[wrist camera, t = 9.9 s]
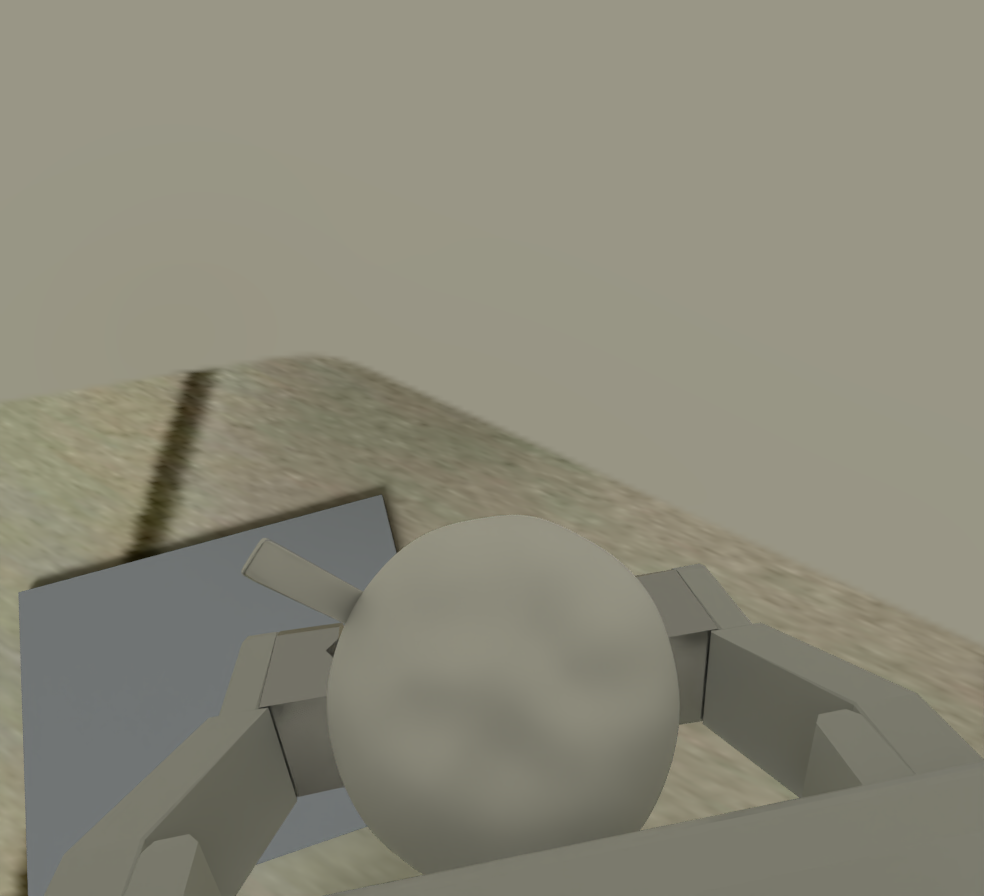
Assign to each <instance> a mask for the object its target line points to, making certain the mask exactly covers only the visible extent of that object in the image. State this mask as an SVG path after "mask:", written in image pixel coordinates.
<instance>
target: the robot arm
mask: <svg viewBox="0 0 984 896" xmlns="http://www.w3.org/2000/svg"><path fill="white" fill-rule="evenodd" d="M636 578H637V579H638V580H639V581H640V583H641V584H642V585H643V586H644V588H645V589H646V591H647V592H648V594H649V595H650V597H651V598H652V600H653V602H654V604H655V605H656V607H657V609H658V611H659V614H660V616H661V618H662V621H663V623H664V626H665V629H666V632H667V635H668V638H669V642H670V645H671V649H672V653H673V657H674V662H675V666H676V672H677V678H678V686H679V699H680V714H679V725H681V724H687V723H693V722H700V721H703V724H704V725H705V726H706V727H708V728H709V729H710V730H712V731H713V732H714V733H716V734H717V735H718V736H720V737H721V738H722V739H723V740H725V741H726V742H727V743H729V744H730V745H731V746H733V747H734V748H735V749H737V750H738V751H739V752H740V753H742V754H743V755H744V756H746V757H747V758H748V759H750V760H751V761H752V762H754V763H755V764H756V765H757V766H759V767H760V768H761V769H763V770H764V771H765V772H767V773H768V774H769V775H771V776H772V777H773V778H775V779H776V780H777V781H778V782H780V783H781V784H782V785H784V786H785V787H786V788H788V789H789V790H790V791H792V792H793V793H794V794H795V795H797V796H798V797H799V798H798V799H793V800H788V801H783V802H778V803H773V804H768V805H763V806H759V807H754V808H749V809H744V810H739V811H734V812H729V813H724V814H720V815H715V816H710V817H705V818H700V819H695V820H690V821H685V822H680V823H676V824H671V825H666V826H661V827H656V828H651V829H646V830H641V831H637V832H632V833H627V834H622V835H617V836H612V837H607V838H602V839H597V840H593V841H588V842H583V843H578V844H573V845H568V846H563V847H558V848H554V849H549V850H544V851H539V852H534V853H529V854H524V855H519V856H514V857H510V858H505V859H500V860H495V861H490V862H485V863H480V864H475V865H470V866H466V867H461V868H456V869H451V870H446V871H441V872H436V873H431V874H427V875H422V876H417V877H412V878H407V879H402V880H397V881H392V882H387V883H383V884H378V885H373V886H368V887H363V888H358V889H353V890H348V891H344V892H339V893H334V894H329V895H324V896H984V759H983V758H982V757H981V756H980V755H979V754H978V753H977V752H976V751H975V750H974V749H973V748H972V747H971V746H970V745H969V744H968V743H967V742H966V741H965V740H964V739H963V738H962V737H961V736H960V735H959V734H958V733H957V732H956V731H955V730H954V729H953V728H952V727H951V726H950V725H949V724H948V723H947V722H946V721H945V720H944V719H943V718H942V717H941V716H940V715H939V714H938V713H937V712H936V711H935V710H934V709H932V708H931V707H930V706H929V705H928V704H927V703H926V702H925V701H924V700H923V699H922V698H921V697H920V696H919V695H918V694H917V693H915V692H913V691H911V690H908V689H906V688H904V687H902V686H900V685H897V684H895V683H893V682H891V681H889V680H886V679H884V678H882V677H880V676H878V675H875V674H873V673H871V672H869V671H866V670H864V669H862V668H860V667H858V666H855V665H853V664H851V663H849V662H847V661H844V660H842V659H840V658H838V657H836V656H833V655H831V654H829V653H827V652H825V651H822V650H820V649H818V648H816V647H814V646H811V645H809V644H807V643H805V642H803V641H800V640H798V639H796V638H794V637H792V636H789V635H787V634H785V633H783V632H781V631H778V630H776V629H774V628H772V627H770V626H767V625H765V624H763V623H755V624H752V623H751V622H750V620H749V619H748V618H747V617H746V615H745V614H744V613H743V612H742V611H741V609H740V608H739V607H738V606H737V604H736V603H735V602H734V601H733V600H732V598H731V597H730V596H729V595H728V593H727V592H726V591H725V590H724V589H723V587H722V586H721V585H720V584H719V582H718V581H717V580H716V579H715V578H714V576H713V575H712V574H711V573H710V571H709V570H708V569H707V568H706V567H705V566H704V565H702V564H695V565H689V566H684V567H679V568H673V569H672V570H667V571H661V572H655V573H649V574H643V575H637V576H636ZM343 628H344V625H343V624H342V623H335V624H328V625H321V626H314V627H306V628H299V629H292V630H285V631H280V632H273V633H266V634H259V635H253V636H248V637H247V638H246V639H245V640H244V641H243V643H242V645H241V648H240V652H239V655H238V658H237V661H236V664H235V667H234V670H233V673H232V676H231V680H230V683H229V686H228V689H227V692H226V695H225V698H224V701H223V705H222V708H221V711H220V714H219V716H216V717H210V718H208V719H207V720H206V721H205V722H204V723H203V724H202V725H201V726H200V727H199V728H198V729H196V730H195V731H194V732H193V733H192V734H191V735H190V736H189V737H188V738H187V739H186V740H185V741H184V742H183V743H182V744H181V745H180V746H178V747H177V748H176V749H175V750H174V751H173V752H172V753H171V754H170V755H169V756H168V757H167V758H166V759H165V760H164V761H163V762H161V763H160V764H159V765H158V766H157V767H156V768H155V769H154V770H153V771H152V772H151V773H150V774H149V775H148V776H147V777H146V778H145V779H143V780H142V781H141V782H140V783H139V784H138V785H137V786H136V787H135V788H134V789H133V790H132V791H131V792H130V793H129V794H128V795H127V796H125V797H124V798H123V799H122V800H121V801H120V802H119V803H118V804H117V805H116V806H115V807H114V808H113V809H112V810H111V811H110V812H108V813H107V814H106V815H105V816H104V817H103V818H102V819H101V820H100V821H99V822H98V823H97V824H96V825H95V826H94V827H93V828H92V829H90V830H89V831H88V832H87V833H86V834H85V835H84V836H83V837H82V838H81V839H80V840H79V841H78V842H77V843H76V844H75V845H73V846H72V847H71V848H70V849H69V850H68V851H67V852H66V853H65V854H64V855H63V857H62V859H61V861H60V863H59V865H58V867H57V869H56V872H55V874H54V876H53V878H52V880H51V882H50V884H49V886H48V888H47V890H46V892H45V894H44V896H236V894H237V893H238V891H239V889H240V888H241V886H242V885H243V883H244V882H245V880H246V879H247V877H248V876H249V874H250V873H251V871H252V870H253V868H254V866H255V865H256V863H257V862H258V860H259V859H260V857H261V856H262V854H263V853H264V851H265V850H266V848H267V847H268V845H269V844H270V842H271V840H272V839H273V837H274V836H275V834H276V833H277V831H278V830H279V828H280V827H281V825H282V824H283V822H284V821H285V819H286V817H287V816H288V814H289V813H290V811H291V810H292V808H293V807H294V805H295V804H296V802H297V798H296V797H300V796H305V795H310V794H314V793H319V792H323V791H328V790H333V789H337V788H342V787H345V786H344V784H343V781H342V778H341V776H340V773H339V770H338V767H337V764H336V760H335V757H334V753H333V749H332V745H331V740H330V734H329V728H328V719H327V688H328V680H329V674H330V669H331V665H332V660H333V657H334V653H335V650H336V647H337V644H338V641H339V638H340V635H341V633H342V630H343Z"/></svg>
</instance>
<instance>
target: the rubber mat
mask: <svg viewBox="0 0 984 896" xmlns="http://www.w3.org/2000/svg"><path fill="white" fill-rule="evenodd" d="M262 538H268V539H270V540H272V541H274V542H276V543H278V544H280V545H282V546H283V547H285V548H287V549H289V550H290V551H292V552H294V553H296V554H297V555H299V556H301V557H303V558H305V559H306V560H308V561H310V562H312V563H313V564H315V565H317V566H319V567H320V568H322V569H324V570H326V571H328V572H329V573H331V574H333V575H335V576H336V577H338V578H340V579H342V580H343V581H345V582H347V583H349V584H351V585H352V586H354V587H356V588H358V589H359V590H361V591H364V590H365V588H366V587H367V586H368V584H369V583H370V582H371V580H372V579H373V578H374V577H375V575H376V574H377V573H378V572H379V571H380V570H381V568H382V567H383V566H384V565H385V564H386V563H387V562H388V561H389V560H390V559H391V558H392V557H393V556H394V555H395V554H397V551H396V547H395V543H394V539H393V535H392V531H391V527H390V523H389V519H388V515H387V511H386V507H385V503H384V499H383V496H382V495H378V496H374V497H370V498H367V499H363V500H359V501H356V502H352V503H348V504H345V505H341V506H337V507H333V508H330V509H326V510H322V511H319V512H315V513H311V514H307V515H304V516H300V517H296V518H293V519H289V520H285V521H282V522H278V523H274V524H270V525H267V526H263V527H259V528H256V529H252V530H248V531H245V532H241V533H237V534H233V535H230V536H226V537H222V538H219V539H215V540H211V541H207V542H204V543H200V544H196V545H193V546H189V547H185V548H182V549H178V550H174V551H170V552H167V553H163V554H159V555H156V556H152V557H148V558H145V559H141V560H137V561H133V562H130V563H126V564H122V565H119V566H115V567H111V568H107V569H104V570H100V571H96V572H93V573H89V574H85V575H82V576H78V577H74V578H70V579H67V580H63V581H59V582H56V583H52V584H48V585H45V586H41V587H37V588H33V589H30V590H26V591H22V592H19V622H20V653H21V685H22V716H23V747H24V779H25V810H26V841H27V873H28V896H44V894H45V892H46V890H47V888H48V886H49V884H50V882H51V880H52V878H53V876H54V874H55V872H56V869H57V867H58V865H59V863H60V861H61V859H62V857H63V855H64V854H65V853H66V852H67V851H68V850H69V849H70V848H71V847H72V846H73V845H75V844H76V843H77V842H78V841H79V840H80V839H81V838H82V837H83V836H84V835H85V834H86V833H87V832H88V831H89V830H90V829H92V828H93V827H94V826H95V825H96V824H97V823H98V822H99V821H100V820H101V819H102V818H103V817H104V816H105V815H106V814H107V813H108V812H110V811H111V810H112V809H113V808H114V807H115V806H116V805H117V804H118V803H119V802H120V801H121V800H122V799H123V798H124V797H125V796H127V795H128V794H129V793H130V792H131V791H132V790H133V789H134V788H135V787H136V786H137V785H138V784H139V783H140V782H141V781H142V780H143V779H145V778H146V777H147V776H148V775H149V774H150V773H151V772H152V771H153V770H154V769H155V768H156V767H157V766H158V765H159V764H160V763H161V762H163V761H164V760H165V759H166V758H167V757H168V756H169V755H170V754H171V753H172V752H173V751H174V750H175V749H176V748H177V747H178V746H180V745H181V744H182V743H183V742H184V741H185V740H186V739H187V738H188V737H189V736H190V735H191V734H192V733H193V732H194V731H195V730H196V729H198V728H199V727H200V726H201V725H202V724H203V723H204V722H205V721H206V720H207V719H208V718H210V717H216V716H219V714H220V711H221V708H222V705H223V701H224V698H225V695H226V692H227V689H228V686H229V683H230V680H231V676H232V673H233V670H234V667H235V664H236V661H237V658H238V655H239V652H240V648H241V645H242V643H243V641H244V640H245V639H246V638H247V637H248V636H253V635H259V634H266V633H273V632H280V631H285V630H292V629H299V628H306V627H314V626H321V625H328V624H335V623H342V622H339V621H337V620H335V619H333V618H331V617H329V616H327V615H324V614H322V613H320V612H318V611H316V610H314V609H312V608H309V607H307V606H305V605H303V604H301V603H299V602H297V601H294V600H292V599H290V598H288V597H286V596H284V595H282V594H279V593H277V592H275V591H273V590H271V589H269V588H267V587H264V586H262V585H260V584H258V583H256V582H254V581H252V580H250V579H248V578H246V577H244V576H243V575H242V573H241V570H242V568H243V566H244V564H245V563H246V561H247V560H248V558H249V556H250V555H251V553H252V552H253V550H254V549H255V547H256V546H257V544H258V543H259V541H260V540H261V539H262ZM342 624H343V625H345V624H344V623H342ZM296 798H297V802H296V804H295V805H294V807H293V808H292V810H291V811H290V813H289V814H288V816H287V817H286V819H285V821H284V822H283V824H282V825H281V827H280V828H279V830H278V831H277V833H276V834H275V836H274V837H273V839H272V840H271V842H270V844H269V845H268V847H267V848H266V850H265V851H264V853H263V854H262V856H261V857H260V859H259V860H258V862H257V863H256V865H257V864H260V863H263V862H265V861H268V860H271V859H274V858H277V857H280V856H283V855H286V854H289V853H292V852H294V851H297V850H300V849H303V848H306V847H309V846H312V845H315V844H318V843H320V842H323V841H326V840H329V839H332V838H335V837H338V836H341V835H344V834H347V833H349V832H352V831H355V830H358V829H361V828H364V827H367V825H366V824H365V822H364V821H363V820H362V818H361V816H360V815H359V813H358V812H357V810H356V808H355V806H354V805H353V803H352V801H351V799H350V797H349V795H348V793H347V791H346V788H345V787H342V788H337V789H333V790H328V791H323V792H319V793H314V794H310V795H305V796H300V797H296Z"/></svg>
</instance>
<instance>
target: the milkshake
mask: <svg viewBox="0 0 984 896" xmlns="http://www.w3.org/2000/svg"><path fill="white" fill-rule="evenodd" d="M241 573H242V575H243V576H244V577H246V578H248V579H250V580H252V581H254V582H256V583H258V584H260V585H262V586H264V587H267V588H269V589H271V590H273V591H275V592H277V593H279V594H282V595H284V596H286V597H288V598H290V599H292V600H294V601H297V602H299V603H301V604H303V605H305V606H307V607H309V608H312V609H314V610H316V611H318V612H320V613H322V614H324V615H327V616H329V617H331V618H333V619H335V620H337V621H339V622H342V623H344V624H345V625H344V628H343V630H342V633H341V635H340V638H339V641H338V644H337V647H336V650H335V653H334V657H333V660H332V665H331V669H330V674H329V680H328V688H327V719H328V728H329V734H330V740H331V745H332V749H333V753H334V757H335V760H336V764H337V767H338V770H339V773H340V776H341V778H342V781H343V784H344V786H345V788H346V791H347V793H348V795H349V797H350V799H351V801H352V803H353V805H354V806H355V808H356V810H357V812H358V813H359V815H360V816H361V818H362V820H363V821H364V822H365V824H366V825H367V826H368V828H369V829H370V830H371V831H372V833H373V834H374V835H375V836H376V837H377V838H378V839H379V840H380V841H381V842H382V843H383V844H384V845H385V846H386V847H388V848H389V849H390V850H391V851H392V852H393V853H395V854H396V855H397V856H398V857H400V858H401V859H402V860H404V861H405V862H406V863H408V864H409V865H410V866H412V867H413V868H415V869H416V870H417V871H419V872H420V873H422V874H423V875H427V874H431V873H436V872H441V871H446V870H451V869H456V868H461V867H466V866H470V865H475V864H480V863H485V862H490V861H495V860H500V859H505V858H510V857H514V856H519V855H524V854H529V853H534V852H539V851H544V850H549V849H554V848H558V847H563V846H568V845H573V844H578V843H583V842H588V841H593V840H597V839H602V838H607V837H612V836H617V835H622V834H627V833H632V832H637V831H640V830H641V828H642V827H643V825H644V824H645V822H646V821H647V819H648V817H649V816H650V814H651V812H652V810H653V808H654V806H655V804H656V802H657V800H658V798H659V796H660V794H661V791H662V789H663V787H664V784H665V781H666V779H667V776H668V773H669V770H670V767H671V763H672V760H673V756H674V751H675V747H676V742H677V735H678V728H679V714H680V699H679V686H678V678H677V672H676V666H675V662H674V657H673V653H672V649H671V645H670V642H669V638H668V635H667V632H666V629H665V626H664V623H663V621H662V618H661V616H660V614H659V611H658V609H657V607H656V605H655V604H654V602H653V600H652V598H651V597H650V595H649V594H648V592H647V591H646V589H645V588H644V586H643V585H642V584H641V583H640V581H639V580H638V579H637V578H636V576H635V575H634V574H633V573H632V572H631V571H630V570H629V569H628V568H627V567H626V566H625V565H624V564H623V563H622V562H620V561H619V560H618V559H617V558H616V557H614V556H613V555H612V554H610V553H609V552H607V551H606V550H604V549H603V548H601V547H600V546H598V545H597V544H595V543H593V542H591V541H590V540H588V539H586V538H584V537H582V536H581V535H579V534H577V533H575V532H573V531H571V530H569V529H567V528H565V527H563V526H560V525H558V524H556V523H553V522H551V521H548V520H545V519H542V518H538V517H533V516H527V515H501V516H493V517H486V518H480V519H474V520H468V521H463V522H459V523H454V524H450V525H447V526H444V527H441V528H438V529H435V530H433V531H430V532H428V533H426V534H424V535H422V536H420V537H419V538H417V539H415V540H414V541H412V542H411V543H409V544H408V545H406V546H405V547H404V548H403V549H401V550H400V551H399V552H398V553H397V554H395V555H394V556H393V557H392V558H391V559H390V560H389V561H388V562H387V563H386V564H385V565H384V566H383V567H382V568H381V570H380V571H379V572H378V573H377V574H376V575H375V577H374V578H373V579H372V580H371V582H370V583H369V584H368V586H367V587H366V588H365V590H364V591H361V590H359V589H358V588H356V587H354V586H352V585H351V584H349V583H347V582H345V581H343V580H342V579H340V578H338V577H336V576H335V575H333V574H331V573H329V572H328V571H326V570H324V569H322V568H320V567H319V566H317V565H315V564H313V563H312V562H310V561H308V560H306V559H305V558H303V557H301V556H299V555H297V554H296V553H294V552H292V551H290V550H289V549H287V548H285V547H283V546H282V545H280V544H278V543H276V542H274V541H272V540H270V539H268V538H262V539H261V540H260V541H259V543H258V544H257V546H256V547H255V549H254V550H253V552H252V553H251V555H250V556H249V558H248V560H247V561H246V563H245V564H244V566H243V568H242V570H241Z"/></svg>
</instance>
